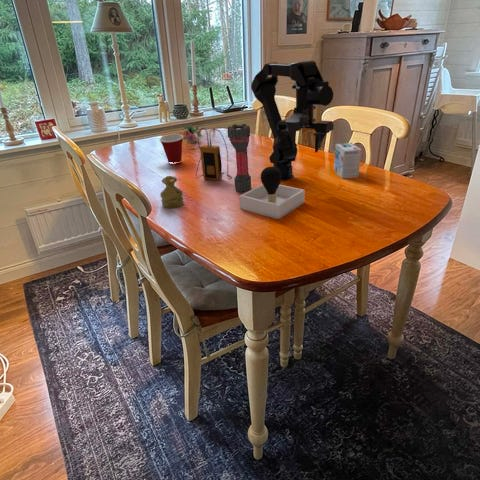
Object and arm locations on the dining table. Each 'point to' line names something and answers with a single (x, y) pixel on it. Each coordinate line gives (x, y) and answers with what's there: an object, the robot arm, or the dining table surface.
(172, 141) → the plastic cup
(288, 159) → the robot arm
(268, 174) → the light bulb
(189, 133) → the flower vase
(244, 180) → the flashlight
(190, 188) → the dining table surface
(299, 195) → the parts tray
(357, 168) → the light bulb box
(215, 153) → the multimeter
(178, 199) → the brown money bag
